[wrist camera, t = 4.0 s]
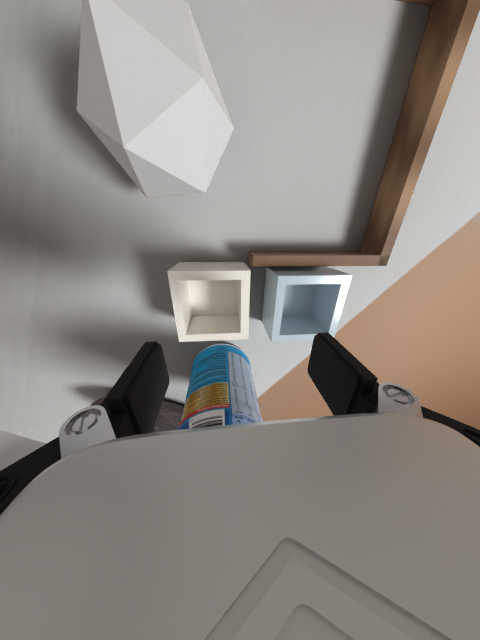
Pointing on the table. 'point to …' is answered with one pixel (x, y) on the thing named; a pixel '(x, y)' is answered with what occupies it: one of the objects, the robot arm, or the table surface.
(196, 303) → the offwhite cup
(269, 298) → the greyblue cup
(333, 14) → the table surface
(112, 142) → the die
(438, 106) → the walnut bay
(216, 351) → the beverage bottle
